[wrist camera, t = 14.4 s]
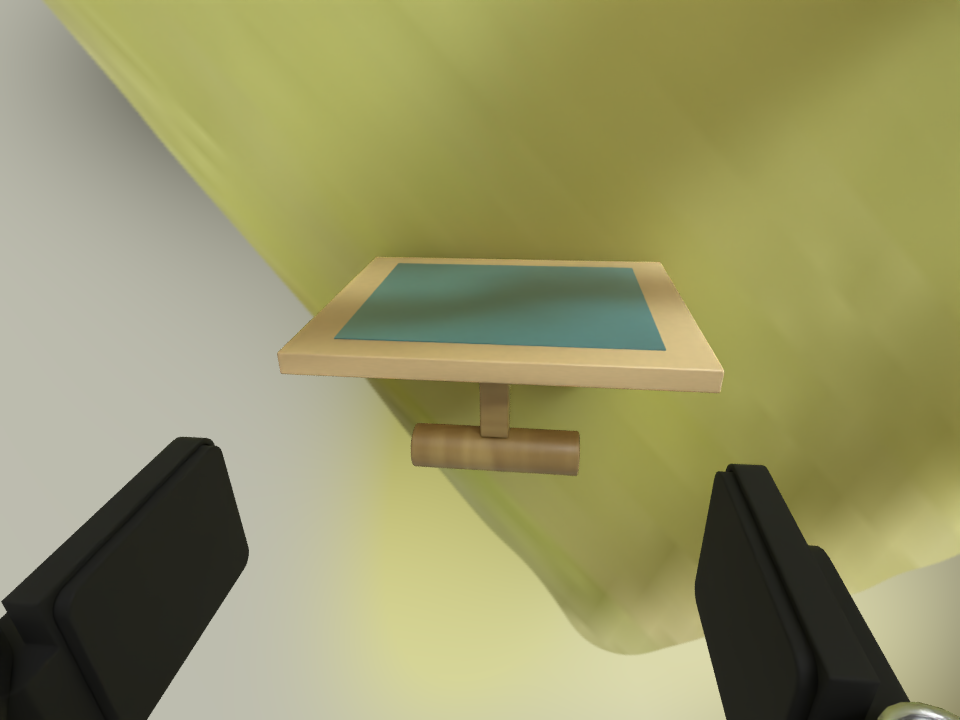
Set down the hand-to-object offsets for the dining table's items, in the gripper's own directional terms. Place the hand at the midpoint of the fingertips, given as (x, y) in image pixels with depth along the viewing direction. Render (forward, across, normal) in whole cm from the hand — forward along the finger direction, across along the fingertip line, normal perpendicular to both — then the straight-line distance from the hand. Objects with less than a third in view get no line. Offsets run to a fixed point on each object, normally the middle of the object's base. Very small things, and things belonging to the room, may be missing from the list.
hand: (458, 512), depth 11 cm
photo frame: (+13, 0, +1) cm, 13 cm away
